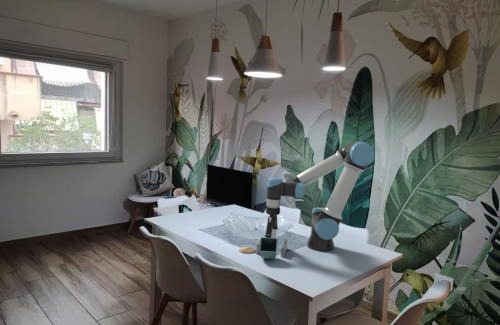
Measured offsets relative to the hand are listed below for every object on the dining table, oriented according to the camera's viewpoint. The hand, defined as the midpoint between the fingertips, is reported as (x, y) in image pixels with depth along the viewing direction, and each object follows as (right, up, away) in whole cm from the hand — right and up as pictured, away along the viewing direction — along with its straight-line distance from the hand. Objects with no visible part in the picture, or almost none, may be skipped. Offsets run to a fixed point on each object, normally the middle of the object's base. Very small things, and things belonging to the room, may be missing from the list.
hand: (270, 244), depth 195 cm
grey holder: (+1, -4, +1) cm, 4 cm away
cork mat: (-13, -3, +1) cm, 13 cm away
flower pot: (-2, -4, -9) cm, 9 cm away
